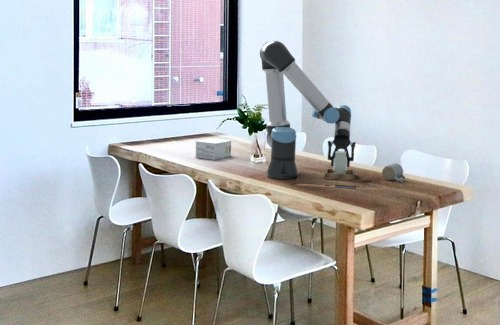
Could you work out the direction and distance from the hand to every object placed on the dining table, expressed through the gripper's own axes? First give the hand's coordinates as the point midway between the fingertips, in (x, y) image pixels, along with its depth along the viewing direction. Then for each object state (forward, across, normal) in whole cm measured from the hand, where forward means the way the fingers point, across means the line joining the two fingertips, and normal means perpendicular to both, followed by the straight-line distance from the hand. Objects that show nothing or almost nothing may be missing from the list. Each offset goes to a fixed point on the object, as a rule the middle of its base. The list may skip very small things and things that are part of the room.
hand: (339, 171), depth 322 cm
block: (0, 0, -5) cm, 5 cm away
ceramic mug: (-3, -26, -9) cm, 28 cm away
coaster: (+12, -3, +6) cm, 14 cm away
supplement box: (-32, +72, -39) cm, 88 cm away
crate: (0, 0, -6) cm, 6 cm away
